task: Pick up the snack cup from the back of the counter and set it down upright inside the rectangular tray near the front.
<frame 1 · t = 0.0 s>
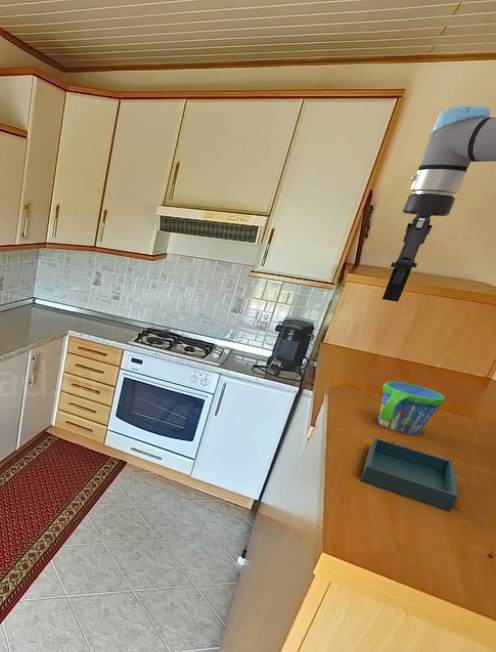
hand: (391, 298, 107), 29 cm above the worktop, tool pointing down, fingers open, 13 cm apart
rectangular tray: (404, 477, 90), on the worktop
snack cup: (396, 431, 112), on the worktop
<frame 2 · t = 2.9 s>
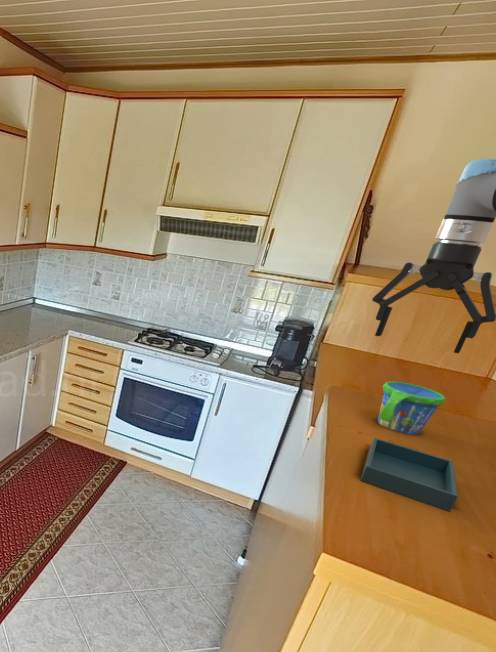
hand: (415, 343, 106), 20 cm above the worktop, tool pointing down, fingers open, 13 cm apart
nothing on the worktop moved.
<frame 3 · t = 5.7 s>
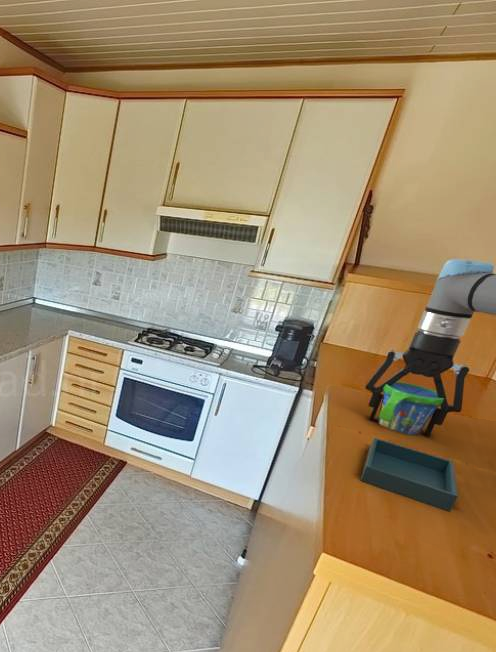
hand: (397, 428, 112), 1 cm above the worktop, tool pointing down, fingers closed on snack cup, 9 cm apart
snack cup: (396, 431, 112), on the worktop, touching gripper
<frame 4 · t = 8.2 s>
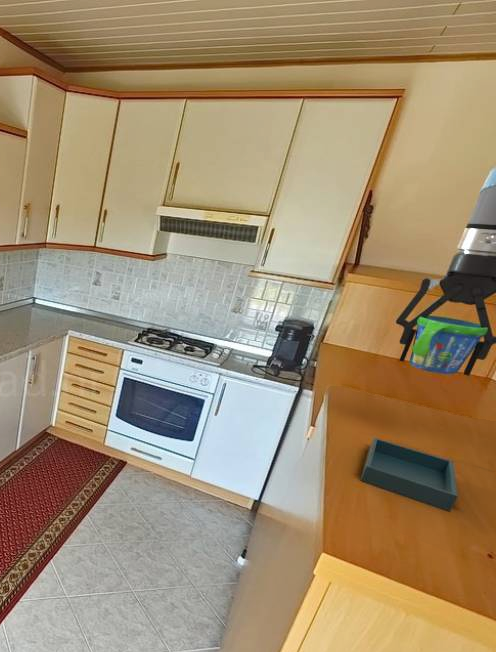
hand: (433, 366, 99), 17 cm above the worktop, tool pointing down, fingers closed on snack cup, 9 cm apart
snack cup: (431, 370, 100), point 17 cm above the worktop, touching gripper
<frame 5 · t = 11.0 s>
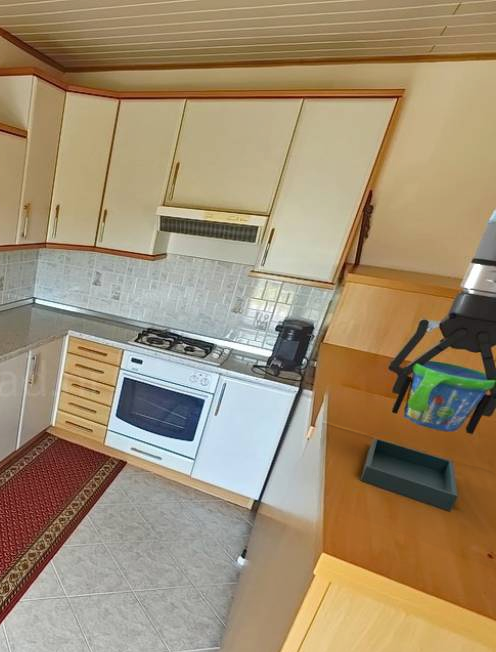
hand: (430, 420, 86), 12 cm above the worktop, tool pointing down, fingers closed on snack cup, 9 cm apart
snack cup: (428, 424, 86), point 11 cm above the worktop, touching gripper
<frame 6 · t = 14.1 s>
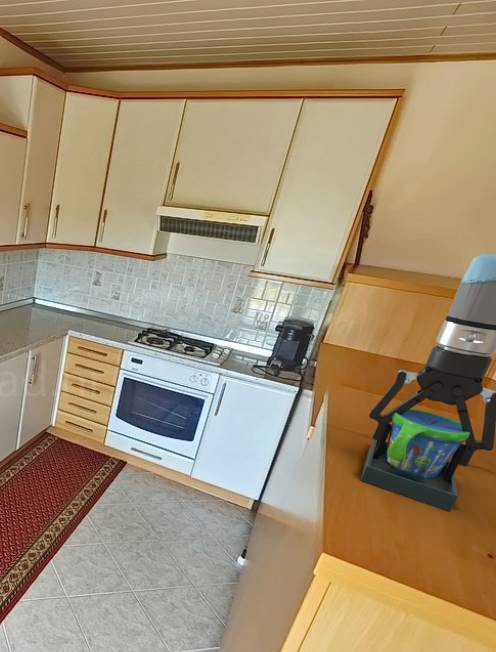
hand: (409, 467, 89), 2 cm above the worktop, tool pointing down, fingers closed on snack cup, 9 cm apart
snack cup: (408, 471, 89), point 1 cm above the worktop, touching gripper
when the fingers open (3 cm above the worktop, at t = 16.7 s): snack cup drops 1 cm, resting on rectangular tray.
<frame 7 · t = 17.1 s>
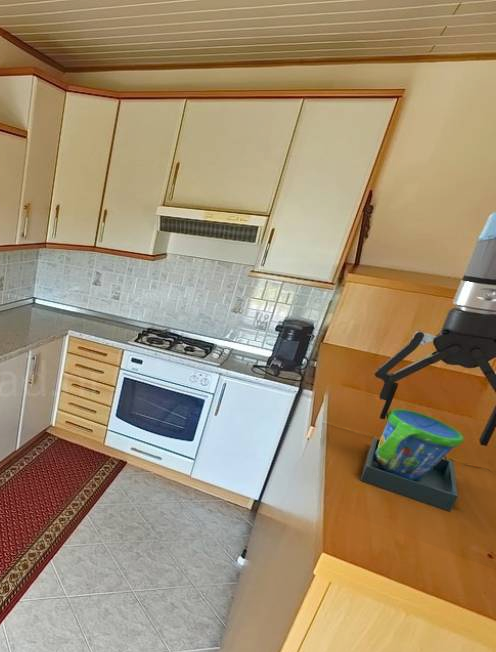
hand: (430, 429, 86), 10 cm above the worktop, tool pointing down, fingers open, 13 cm apart
snack cup: (395, 470, 91), point 1 cm above the worktop, touching rectangular tray
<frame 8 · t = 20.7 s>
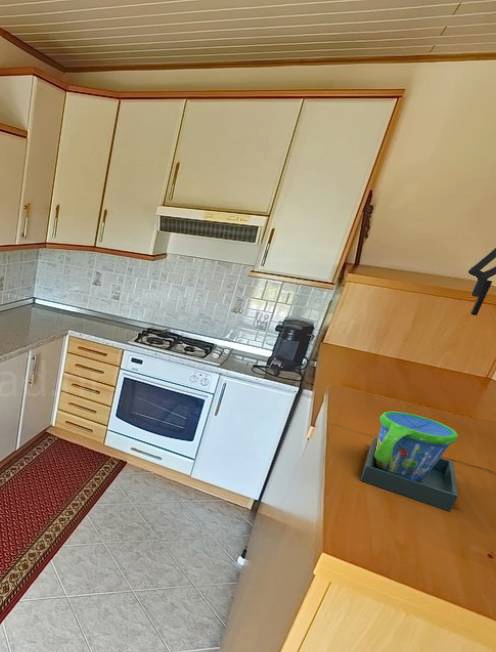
nothing on the worktop moved.
at the end: snack cup 1.3 cm off-centre in the rectangular tray, point 0.3 cm above the rectangular tray's base; snack cup tilted 0°; the gripper is holding nothing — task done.
